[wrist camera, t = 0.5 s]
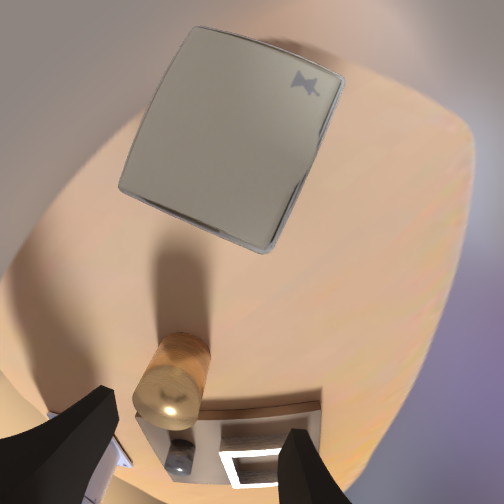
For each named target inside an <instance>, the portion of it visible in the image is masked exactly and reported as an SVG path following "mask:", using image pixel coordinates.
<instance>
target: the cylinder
mask: <svg viewBox="0 0 504 504" xmlns="http://www.w3.org/2000/svg"><path fill="white" fill-rule="evenodd" d="M210 360H211V357H210V352H209V350H208V348H207V346H206V345H205V344H204V343H203V342H202V341H201V340H200V339H198V338H197V337H195V336H193V335H190V334H186V333H174V334H170V335H168V336H166V337H165V338H164V339H163V340H162V342H161V343H160V345H159V347H158V349H157V351H156V352H155V354H154V356H153V358H152V360H151V361H150V363H149V365H148V367H147V369H146V371H145V373H144V374H143V376H142V378H141V380H140V382H139V384H138V386H137V387H136V389H135V391H134V393H133V397H132V400H133V405H134V407H135V409H136V410H137V412H138V413H139V414H140V415H141V416H142V417H143V418H144V419H145V420H146V421H148V422H149V423H151V424H153V425H155V426H157V427H160V428H163V429H167V430H184V429H187V428H190V427H191V426H193V425H194V424H195V423H196V421H197V419H198V414H199V410H200V405H201V401H202V396H203V392H204V387H205V383H206V378H207V374H208V369H209V365H210Z"/></svg>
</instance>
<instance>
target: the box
mask: <svg viewBox="0 0 504 504" xmlns="http://www.w3.org/2000/svg"><path fill="white" fill-rule="evenodd" d="M344 87H345V78H344V77H343V76H341V75H339V74H337V73H335V72H333V71H331V70H329V69H327V68H325V67H323V66H321V65H319V64H317V63H315V62H313V61H310V60H308V59H306V58H304V57H302V56H299V55H297V54H294V53H292V52H289V51H287V50H284V49H281V48H279V47H276V46H273V45H271V44H268V43H265V42H262V41H259V40H255V39H252V38H249V37H246V36H242V35H239V34H235V33H231V32H226V31H222V30H218V29H213V28H209V27H204V26H196V27H194V28H193V29H192V30H191V31H190V33H189V34H188V36H187V37H186V39H185V40H184V42H183V43H182V45H181V46H180V48H179V50H178V51H177V53H176V55H175V56H174V58H173V59H172V61H171V63H170V64H169V66H168V68H167V70H166V72H165V73H164V75H163V77H162V79H161V81H160V83H159V85H158V87H157V88H156V90H155V92H154V94H153V96H152V99H151V101H150V103H149V105H148V107H147V110H146V112H145V114H144V116H143V118H142V121H141V123H140V126H139V128H138V131H137V133H136V136H135V138H134V141H133V143H132V146H131V148H130V151H129V154H128V156H127V159H126V162H125V165H124V169H123V172H122V174H121V177H120V180H119V184H118V188H119V190H120V191H121V192H122V193H124V194H126V195H128V196H130V197H133V198H135V199H137V200H139V201H141V202H143V203H145V204H148V205H150V206H152V207H154V208H156V209H158V210H160V211H162V212H165V213H167V214H169V215H171V216H173V217H176V218H178V219H180V220H183V221H185V222H187V223H189V224H191V225H194V226H196V227H198V228H200V229H202V230H205V231H207V232H209V233H212V234H214V235H216V236H218V237H221V238H223V239H225V240H228V241H230V242H233V243H235V244H237V245H240V246H242V247H244V248H247V249H249V250H251V251H253V252H256V253H258V254H262V255H263V254H267V253H269V252H270V251H271V250H273V248H274V247H275V245H276V243H277V241H278V239H279V237H280V235H281V233H282V231H283V228H284V226H285V224H286V222H287V220H288V218H289V216H290V214H291V212H292V210H293V208H294V205H295V203H296V201H297V199H298V196H299V194H300V192H301V189H302V187H303V185H304V183H305V180H306V178H307V176H308V174H309V171H310V169H311V167H312V164H313V162H314V160H315V157H316V155H317V153H318V150H319V148H320V146H321V143H322V141H323V139H324V136H325V134H326V131H327V129H328V126H329V124H330V121H331V119H332V116H333V114H334V111H335V109H336V107H337V104H338V102H339V99H340V96H341V94H342V91H343V89H344Z"/></svg>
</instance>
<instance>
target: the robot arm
mask: <svg viewBox="0 0 504 504" xmlns="http://www.w3.org/2000/svg"><path fill="white" fill-rule="evenodd" d="M47 416H48V417H49V420H48V421H47V422H45V423H43V424H41V425H39V426H37V427H35V428H32V429H30V430H28V431H25V432H22V433H20V434H17V435H14V436H11V437H7V438H2V439H0V504H101V503H102V500H103V498H104V495H105V493H106V490H107V488H108V485H109V483H110V481H111V478H112V476H113V473H114V471H115V469H116V466H117V465H118V466H123V467H128V468H132V467H133V464H132V463H131V461H130V460H129V459H128V457H127V456H126V454H125V453H124V451H123V450H122V448H121V447H120V445H119V444H118V442H117V441H116V439H115V438H114V436H113V435H114V432H115V430H116V427H117V424H118V422H119V416H118V411H117V405H116V400H115V394H114V390H113V389H110V388H107V387H105V386H102V385H100V386H99V387H97V388H96V389H95V390H93V391H92V392H91V393H89V394H88V395H87V396H85V397H84V398H82V399H81V400H80V401H78V402H77V403H75V404H74V405H72V406H71V407H70V408H68V409H67V410H65V411H64V412H62V413H60V414H55V413H52V412H48V413H47ZM277 478H278V491H279V503H280V504H352V503H351V502H350V501H349V500H348V498H347V497H346V496H345V495H344V493H343V492H342V491H341V489H340V488H339V486H338V485H337V484H336V482H335V481H334V479H333V478H332V476H331V475H330V473H329V471H328V470H327V468H326V466H325V464H324V463H323V461H322V459H321V457H320V455H319V453H318V452H317V450H316V448H315V446H314V444H313V441H312V439H311V437H310V435H309V433H308V431H307V430H306V429H294V428H291V430H290V432H289V434H288V436H287V438H286V440H285V442H284V444H283V446H282V448H281V450H280V452H279V454H278V470H277Z"/></svg>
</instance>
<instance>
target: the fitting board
mask: <svg viewBox="0 0 504 504" xmlns="http://www.w3.org/2000/svg"><path fill="white" fill-rule="evenodd" d="M135 418H136V420H137V422H138V424H139V426H140V427H141V429H142V431H143V433H144V435H145V437H146V438H147V440H148V442H149V444H150V445H151V447H152V449H153V450H154V452H155V454H156V455H157V457H158V459H159V460H160V462H161V463H162V465H163V466H164V468H165V470H166V471H167V473H168V474H169V476H170V477H171V479H172V480H173V482H181V483H194V484H217V485H232V486H233V488H253V487H269V486H278V478H277V470H278V454H279V452H280V450H281V448H282V446H283V444H284V442H285V440H286V438H287V436H288V434H289V432H290V430H291V428H294V429H306V430H307V431H308V433H309V435H310V437H311V439H312V441H313V444H314V446H315V448H316V450H317V452H318V453H319V443H320V427H321V407H320V403H319V401H313V402H306V403H300V404H292V405H285V406H276V407H266V408H255V409H241V410H220V411H199V414H198V419H197V421H196V423H195V424H194V425H193V426H191V427H190V428H187V429H184V430H167V429H163V428H160V427H157V426H155V425H153V424H151V423H149V422H148V421H146V420H145V419H144V418H143V417H142V416H141V415H140V414H139V413H138V412H137V413H136V415H135Z"/></svg>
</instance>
